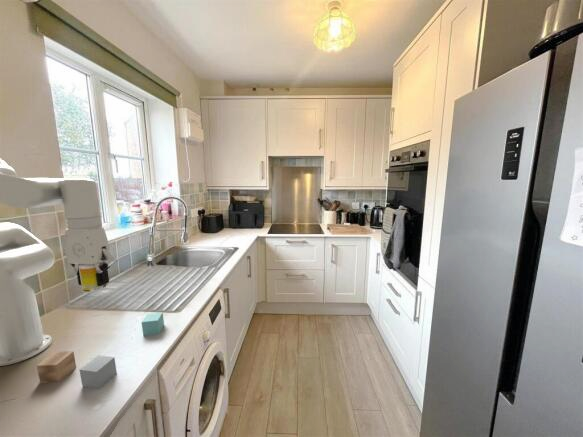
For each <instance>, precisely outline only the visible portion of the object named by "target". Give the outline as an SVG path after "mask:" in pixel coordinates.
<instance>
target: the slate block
mask: <svg viewBox="0 0 583 437" xmlns="http://www.w3.org/2000/svg"><path fill="white" fill-rule="evenodd" d="M115 358H116V357H115V356H108V355H107V356H106V355H99V354H98V355H97V356H95V357H94V358H93V359H90V361H89V362H87V363H86V364H85V365H84V366H82V367H81V368H79V373H80V379H81V380H80V381H81V385H82V387H83V388H89V389H93V390H94V389H95V390H101V389H102V388H103V387H104V386H105V385H106V384H107V383H108V382H109V381H110V380H112V379H113V378H114V377H115V376H116V375H117V364H116V360H115Z"/></svg>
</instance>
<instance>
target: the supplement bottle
mask: <svg viewBox="0 0 583 437" xmlns="http://www.w3.org/2000/svg"><path fill="white" fill-rule="evenodd" d="M100 266H102V263H100ZM79 273H80V279H81V285H80V286H81V290H82V292H83V293H85V294H95V293H98V292H101V291H103V290H105V289H106V288H107V284H108V283H107V284H104V285H102V286H98V285H97V279H96V273H98V272H97V270H96V268H95V266H94V265H86V264H80V265H79Z"/></svg>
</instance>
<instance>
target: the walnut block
mask: <svg viewBox="0 0 583 437" xmlns="http://www.w3.org/2000/svg"><path fill="white" fill-rule="evenodd" d="M75 357H76V356H75V353H74V350H73V351H71V350H69V351H54V352H53V353H52V354H50V355H49V356H47V357H46V358H44V359H43V360H42V361H40V362H38V364H37V365H36V368H37V374H38V379H39V383H60V382H61V381H62V380H64V379H65V378H66V377H67V376H68V375H69V374H70V373H71V372H72V371H73V370H75V369H76V368H77V365H76V364H77V363H76V359H75Z"/></svg>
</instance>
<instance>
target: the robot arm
mask: <svg viewBox="0 0 583 437" xmlns="http://www.w3.org/2000/svg"><path fill="white" fill-rule="evenodd" d="M0 204H3V205H7V206H12V207H16V208H22V209H23V208H24V209H36V208H45V207H53V206H54V207H55V206H63V212H64V217H65V222H66V223H65V224H66V228H65V232H64V248H65V258H66V262H68V263H70V265H71V266H72V267H73V268H74V272H75V273H76V276H77V282H78V283H77V285H79V286H82V285H81V279H80V273H79V265H80V264H86V265H94V266H95V268H96V270H97V272H98V273H96V279H97V285H98V286H102V285H104V284H109V282H110V278H109V270H110V267H111V266H112V265H113V264H114V262H115V261H116V259H115V257H114V256H113V255H112V254H111V251H110V245H109V240H108V236H107V233H106V230H105V228H104V226H103V220H102V216H101V214H102V212H101V209H100V207H101V206H100V200H99V193H98V186H97V182H96V181H95V180H94V179H91V178H61V177H60V178H58V177H56V178H55V177H53V178H52V177H51V178H49V177H28V178H27V177H21V176H19V177H18V174H17V172H16V171H15V169H14V168H13V167H12V166H9V165H8V164H7V162H5V161H4V160H2V158H0ZM55 262H56V257H55V253H54V251H53V250H52V249H51V248H50V247H49V245H47V244H46V243H44V242H43V241H42V240H40V239H39V238H38V237H36V236H35V235H34V234H32V233H31V232H30V231H28V230H27V229H26V228H24V227H23V226H21V225H19V224H16V223H13V222H5V221H4V222H3V221H2V222H0V367H3V366H9V365H13V364H16V363H20V362H22V361H25V360H27V359H29V358H33V357H34V356H36V355H38V354H40V353H42V352H43V351H45V350H46V349H47V348H48V347H49V346H50V345H51V343H52V341H53V340H52V336H51V335H49V334H44V331H43V330H44V329H43V326H42V321H41V316H40V312H39V307H38V301H37V297H36V292H35V291H34V289H33V288H32V287H31V286H30V285H29V284H27V283H25V281H24V279H27V278H29V277H32V276H34V275H38V274H40V273H42V272H44V271H47V270H49V269H50V268H52V267H53V266H54V264H55ZM100 263H102V266H100Z"/></svg>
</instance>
